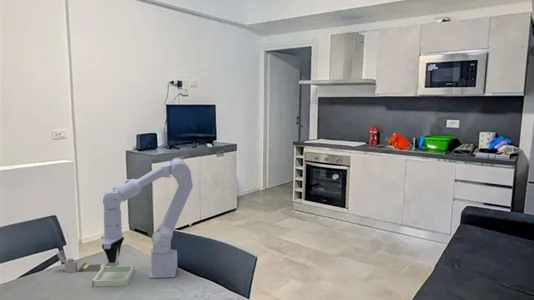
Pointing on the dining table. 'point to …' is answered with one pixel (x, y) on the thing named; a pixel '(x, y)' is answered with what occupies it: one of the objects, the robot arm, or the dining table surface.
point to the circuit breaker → (68, 263)
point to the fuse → (115, 262)
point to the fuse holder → (91, 267)
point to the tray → (113, 276)
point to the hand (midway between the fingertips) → (113, 260)
